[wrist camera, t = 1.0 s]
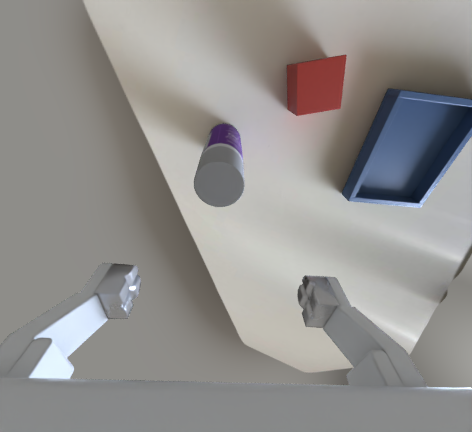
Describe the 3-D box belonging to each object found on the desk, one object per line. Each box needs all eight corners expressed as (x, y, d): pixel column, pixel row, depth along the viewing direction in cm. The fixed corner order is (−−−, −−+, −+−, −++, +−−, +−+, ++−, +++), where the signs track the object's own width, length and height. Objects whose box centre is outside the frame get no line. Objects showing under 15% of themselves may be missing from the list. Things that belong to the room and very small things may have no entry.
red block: (286, 65, 26) (297, 63, 22) (328, 57, 25) (346, 54, 21) (287, 109, 29) (296, 115, 24) (324, 103, 28) (340, 108, 24)
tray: (387, 88, 27) (401, 89, 25) (475, 100, 28) (495, 102, 26) (341, 193, 36) (348, 201, 34) (409, 200, 37) (420, 207, 35)
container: (244, 128, 30) (252, 168, 18) (235, 159, 32) (237, 213, 20) (212, 118, 29) (197, 153, 17) (205, 151, 32) (188, 201, 19)
